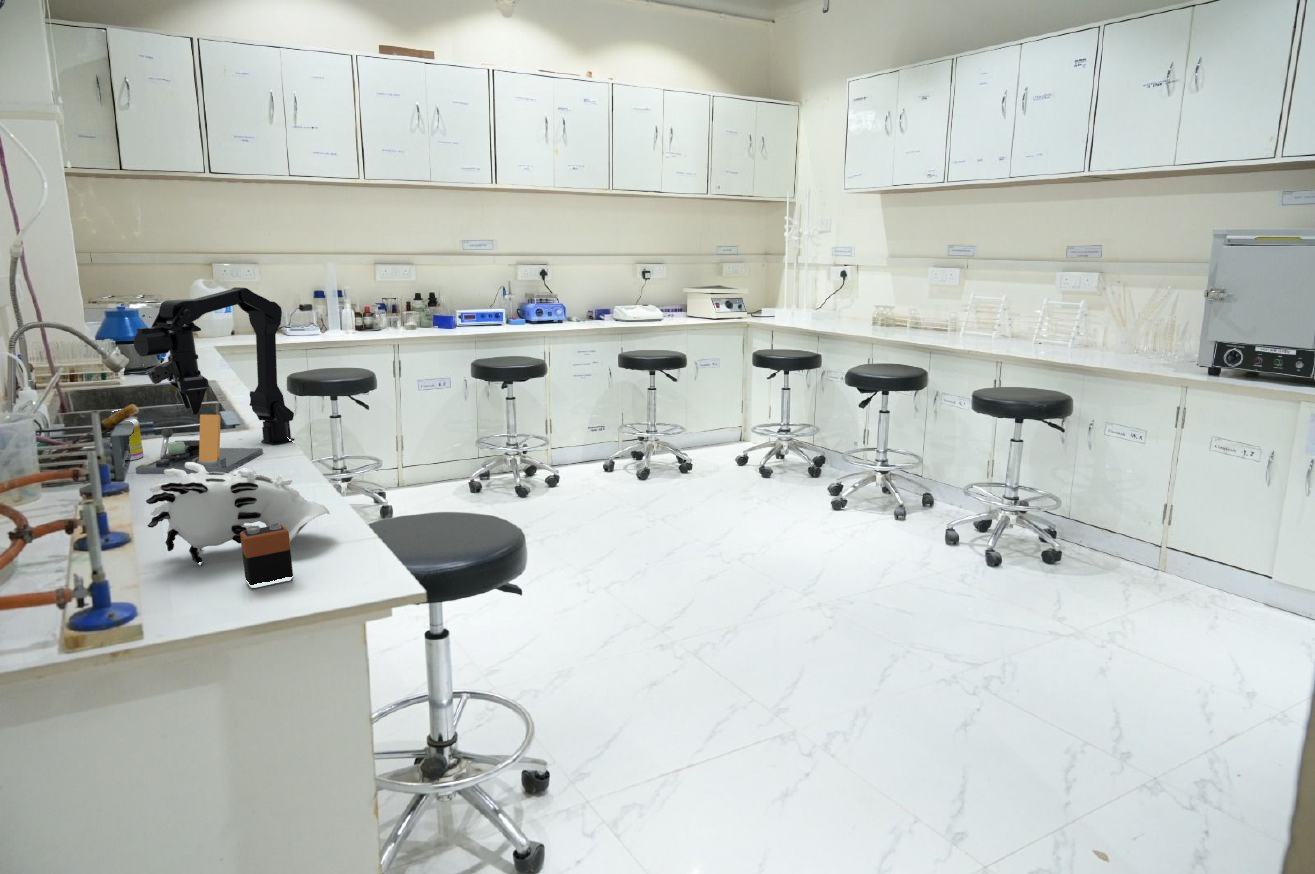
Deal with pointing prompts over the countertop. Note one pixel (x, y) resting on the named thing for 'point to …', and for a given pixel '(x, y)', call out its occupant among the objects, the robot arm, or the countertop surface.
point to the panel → (226, 463)
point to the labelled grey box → (190, 442)
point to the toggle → (165, 441)
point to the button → (176, 447)
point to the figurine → (227, 506)
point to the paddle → (209, 440)
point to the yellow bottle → (135, 440)
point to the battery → (266, 553)
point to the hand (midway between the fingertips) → (191, 411)
